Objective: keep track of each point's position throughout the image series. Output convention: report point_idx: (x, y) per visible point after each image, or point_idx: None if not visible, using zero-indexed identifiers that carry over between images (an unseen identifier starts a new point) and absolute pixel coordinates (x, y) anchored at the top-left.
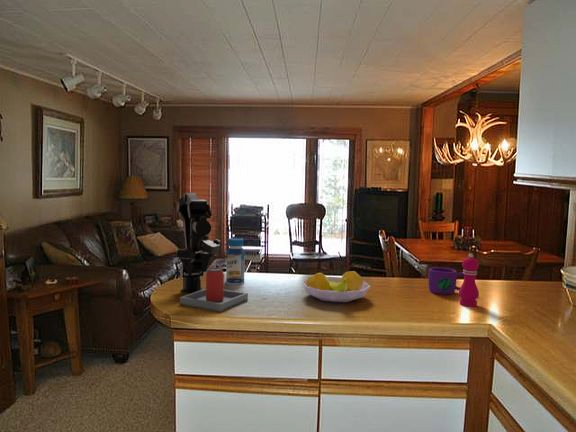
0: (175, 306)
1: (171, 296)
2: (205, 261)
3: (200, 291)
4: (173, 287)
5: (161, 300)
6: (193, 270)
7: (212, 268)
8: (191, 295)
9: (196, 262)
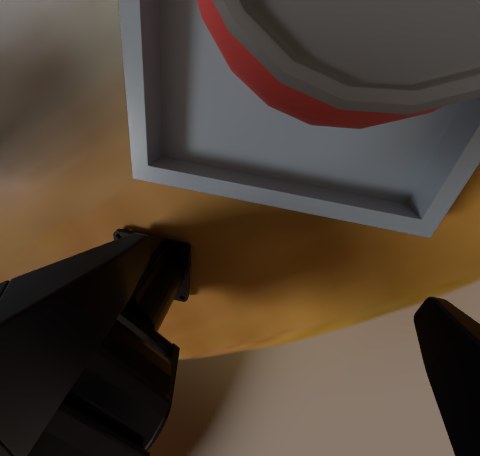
0: (453, 221)
1: (270, 298)
2: (41, 355)
3: (249, 185)
4: None
5: (345, 309)
6: (129, 343)
7: (267, 33)
8: (341, 201)
9: (64, 402)
